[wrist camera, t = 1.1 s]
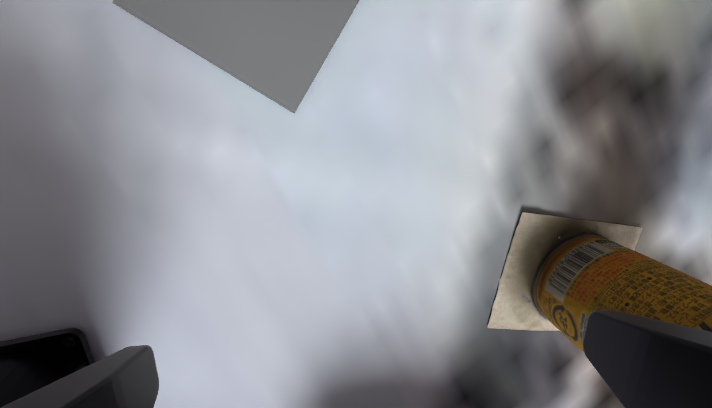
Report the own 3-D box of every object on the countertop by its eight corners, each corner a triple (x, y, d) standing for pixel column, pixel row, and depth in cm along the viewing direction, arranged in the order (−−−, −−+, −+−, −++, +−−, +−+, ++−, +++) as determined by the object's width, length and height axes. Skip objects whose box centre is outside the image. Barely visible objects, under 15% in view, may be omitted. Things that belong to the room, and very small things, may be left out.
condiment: (601, 332, 26) (854, 517, 15) (485, 326, 24) (677, 535, 13) (639, 226, 24) (959, 344, 13) (518, 210, 22) (774, 333, 11)
